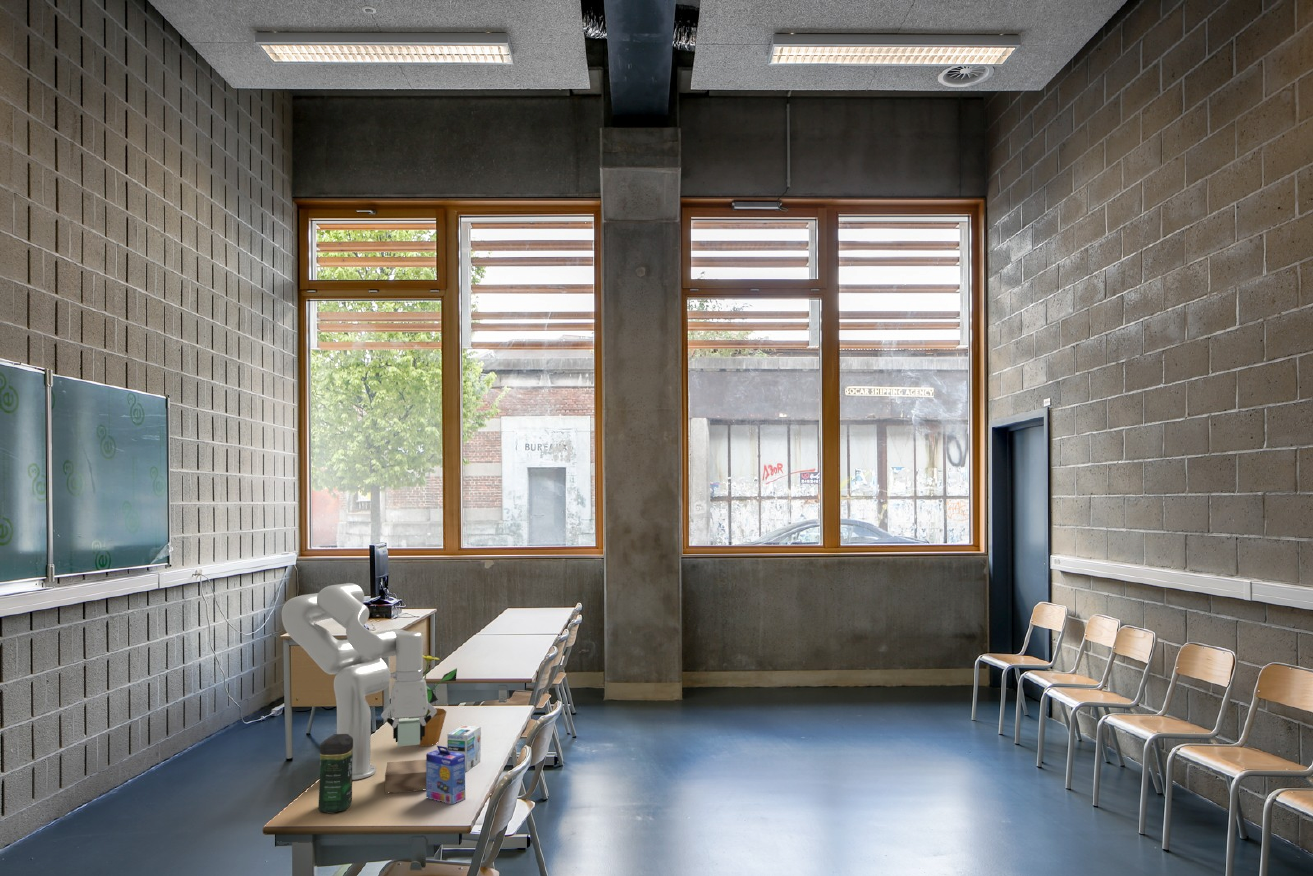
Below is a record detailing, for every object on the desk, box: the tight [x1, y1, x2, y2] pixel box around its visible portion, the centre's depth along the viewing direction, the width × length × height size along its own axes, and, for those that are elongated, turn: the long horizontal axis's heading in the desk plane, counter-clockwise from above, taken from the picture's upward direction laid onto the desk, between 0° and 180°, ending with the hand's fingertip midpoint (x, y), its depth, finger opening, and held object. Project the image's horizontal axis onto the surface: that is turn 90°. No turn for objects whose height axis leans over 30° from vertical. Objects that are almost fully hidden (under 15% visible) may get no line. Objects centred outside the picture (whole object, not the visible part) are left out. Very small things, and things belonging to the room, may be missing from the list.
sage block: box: [397, 718, 420, 747], centre depth 257 cm, size 6×6×6 cm
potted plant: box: [408, 654, 458, 747], centre depth 299 cm, size 18×19×30 cm
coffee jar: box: [317, 733, 353, 814], centre depth 239 cm, size 10×8×19 cm
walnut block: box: [384, 759, 426, 794], centre depth 257 cm, size 12×12×5 cm
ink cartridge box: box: [425, 745, 466, 805], centre depth 245 cm, size 10×6×14 cm, turn 60°
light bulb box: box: [446, 725, 482, 772], centre depth 274 cm, size 11×7×11 cm, turn 168°
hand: (409, 739), depth 257 cm, fingers closed on sage block, 6 cm apart
